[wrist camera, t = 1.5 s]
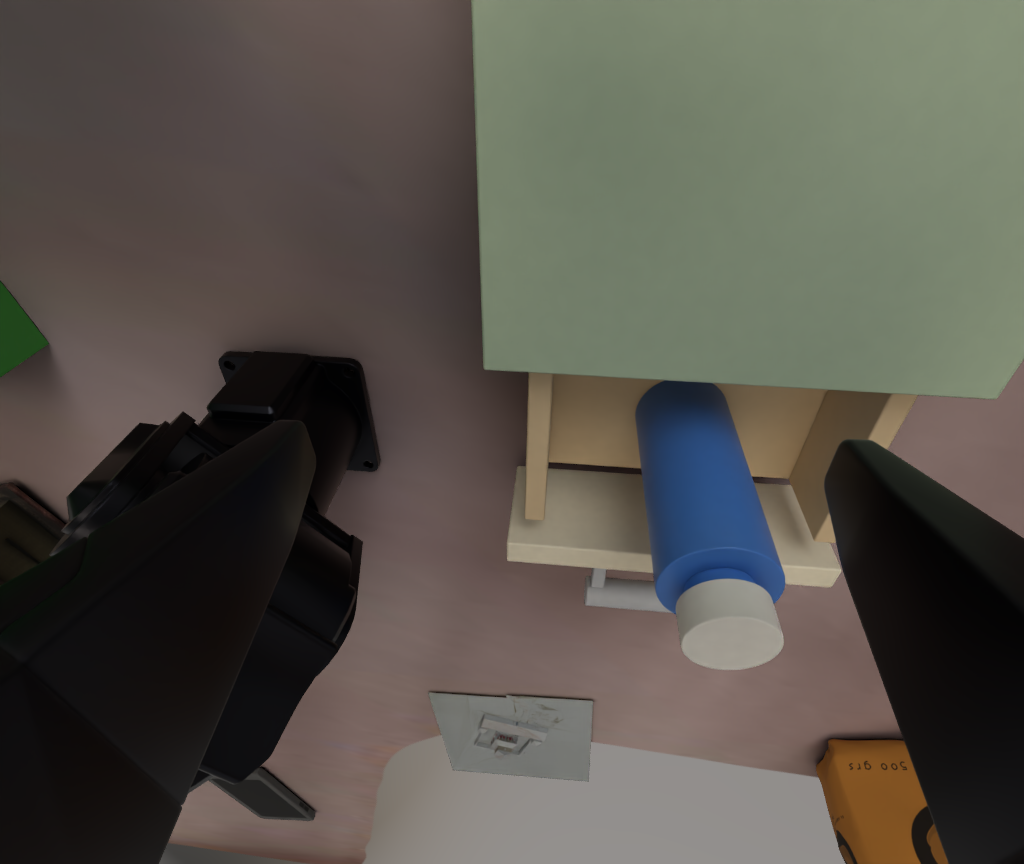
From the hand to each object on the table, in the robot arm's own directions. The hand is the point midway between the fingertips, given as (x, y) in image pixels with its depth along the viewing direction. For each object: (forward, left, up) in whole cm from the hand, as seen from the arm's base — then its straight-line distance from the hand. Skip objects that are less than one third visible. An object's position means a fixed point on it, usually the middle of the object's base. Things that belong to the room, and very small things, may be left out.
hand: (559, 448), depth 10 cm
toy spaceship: (-40, +4, -14) cm, 43 cm away
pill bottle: (-7, -5, -11) cm, 15 cm away
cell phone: (-65, +30, -13) cm, 73 cm away
